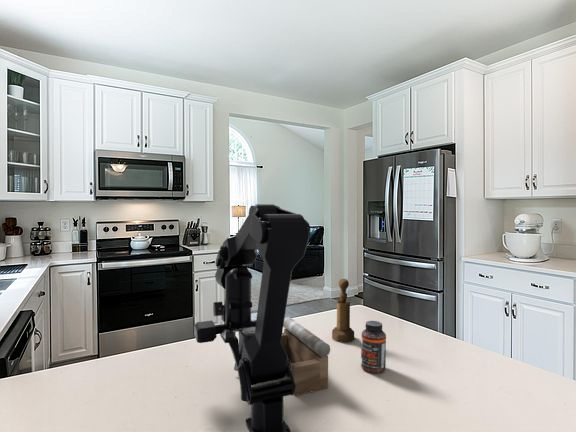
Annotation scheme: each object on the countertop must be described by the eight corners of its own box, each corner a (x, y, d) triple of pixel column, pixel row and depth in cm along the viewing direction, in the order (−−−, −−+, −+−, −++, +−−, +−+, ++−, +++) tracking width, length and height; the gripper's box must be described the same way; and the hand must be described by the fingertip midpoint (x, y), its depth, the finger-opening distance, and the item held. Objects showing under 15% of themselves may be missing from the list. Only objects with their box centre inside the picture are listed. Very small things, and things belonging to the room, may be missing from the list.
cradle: (330, 387, 78) (330, 342, 78) (294, 395, 75) (294, 348, 74) (292, 353, 96) (292, 316, 96) (262, 358, 93) (262, 320, 93)
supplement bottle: (357, 370, 86) (358, 324, 86) (364, 361, 92) (364, 317, 91) (382, 376, 84) (383, 328, 83) (388, 366, 89) (388, 321, 89)
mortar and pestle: (330, 341, 105) (330, 280, 105) (333, 333, 112) (334, 276, 111) (352, 343, 103) (353, 281, 103) (355, 335, 110) (356, 277, 109)
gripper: (266, 285, 91) (266, 346, 91) (190, 291, 84) (191, 357, 84) (282, 295, 80) (282, 364, 81) (197, 303, 73) (197, 378, 74)
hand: (238, 365), depth 80 cm, fingers closed
